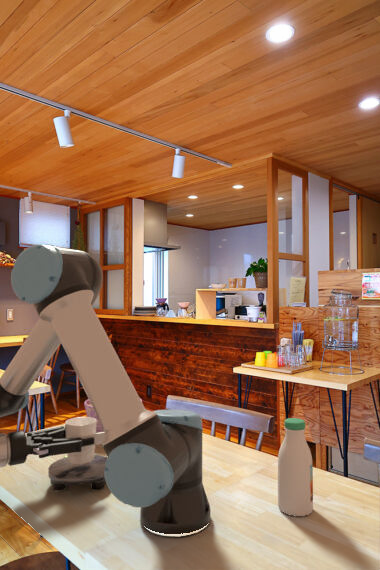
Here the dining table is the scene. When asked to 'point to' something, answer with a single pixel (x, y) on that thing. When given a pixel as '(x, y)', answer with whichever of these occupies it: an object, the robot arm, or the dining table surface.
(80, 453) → the white cup
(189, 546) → the dining table surface
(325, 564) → the dining table surface
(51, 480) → the stand
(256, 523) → the dining table surface
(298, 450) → the milk bottle
